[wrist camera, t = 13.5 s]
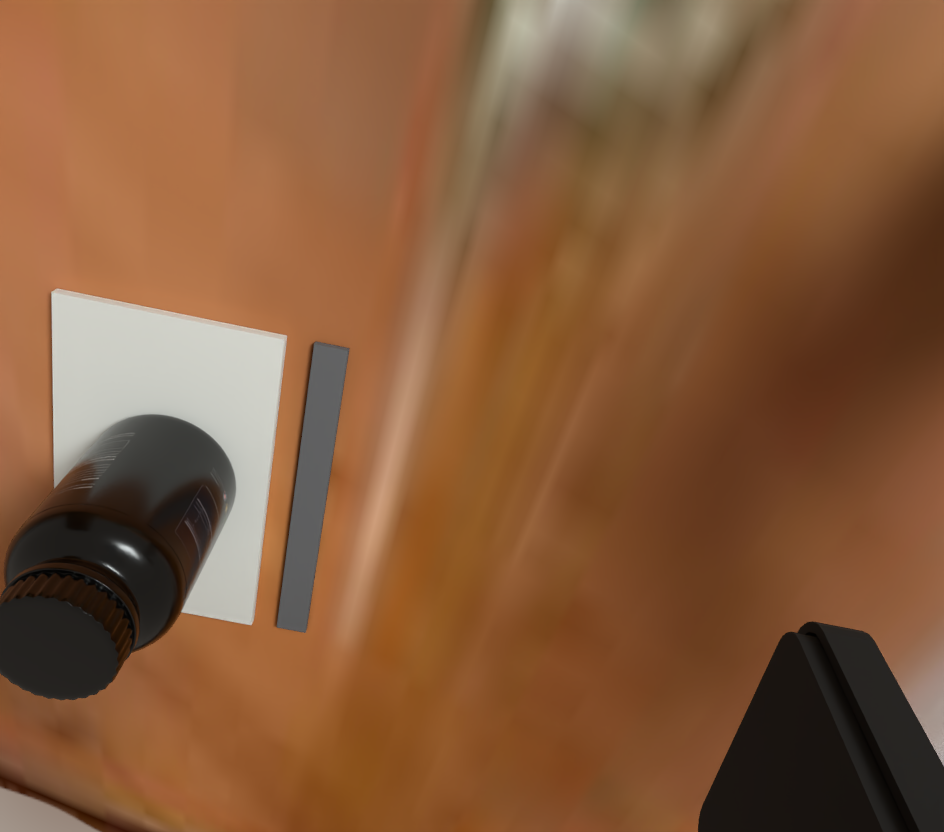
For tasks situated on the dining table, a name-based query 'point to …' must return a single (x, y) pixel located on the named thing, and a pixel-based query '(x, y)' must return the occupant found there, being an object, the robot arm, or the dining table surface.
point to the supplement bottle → (111, 555)
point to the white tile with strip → (203, 427)
